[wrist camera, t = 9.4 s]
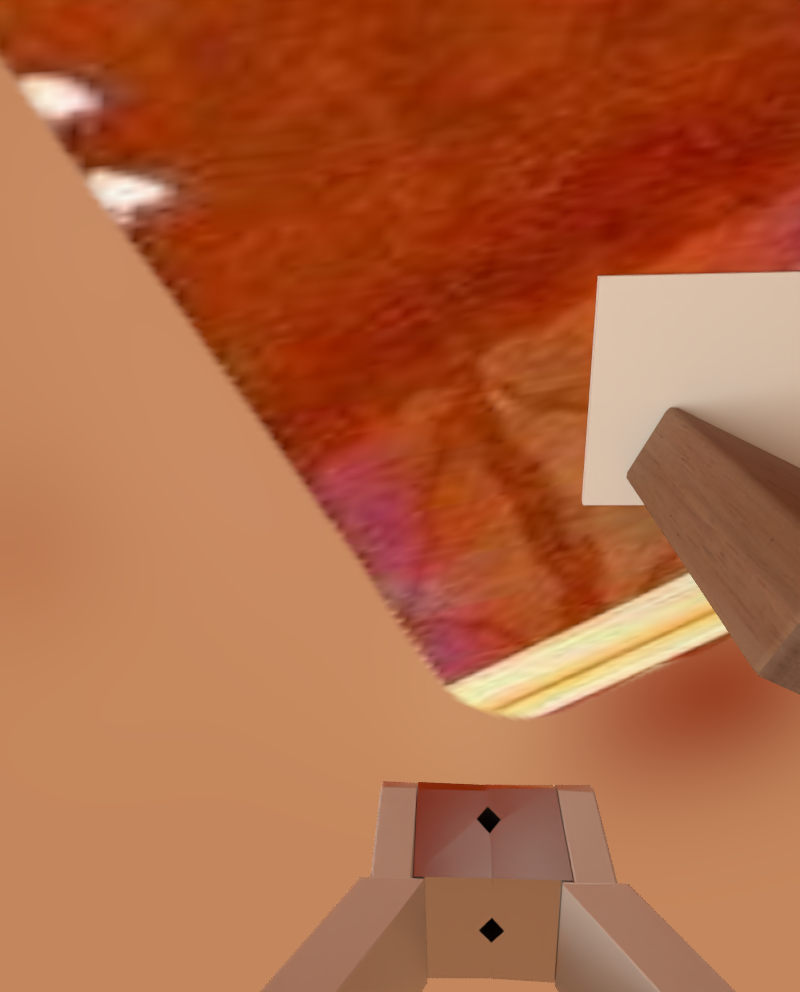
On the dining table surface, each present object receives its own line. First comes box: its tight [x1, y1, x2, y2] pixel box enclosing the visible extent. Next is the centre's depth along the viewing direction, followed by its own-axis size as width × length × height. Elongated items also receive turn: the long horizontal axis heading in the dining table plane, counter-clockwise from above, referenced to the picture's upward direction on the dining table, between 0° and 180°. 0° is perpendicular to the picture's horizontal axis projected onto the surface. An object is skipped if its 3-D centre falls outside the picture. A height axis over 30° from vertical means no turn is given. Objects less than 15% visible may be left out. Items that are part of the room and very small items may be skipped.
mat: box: [582, 271, 800, 505], centre depth 37 cm, size 12×16×1 cm
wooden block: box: [626, 407, 800, 694], centre depth 30 cm, size 9×4×18 cm, turn 65°
